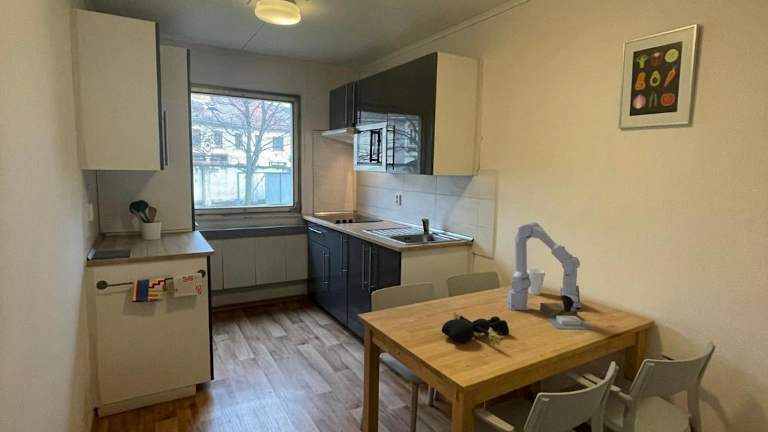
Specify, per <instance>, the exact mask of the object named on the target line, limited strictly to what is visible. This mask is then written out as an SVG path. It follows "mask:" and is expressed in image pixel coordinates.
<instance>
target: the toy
mask: <svg viewBox="0 0 768 432" xmlns="http://www.w3.org/2000/svg"><path fill="white" fill-rule="evenodd" d="M452 316H453V317H452V318H453V319H449V320H447V321H446V322H445V323H444V324H443V325H442V327H441V333H443V334H444V335H446V336H447V337H448V338H450V339H451V340H452V341H454V342H457V343H460V344H463V343H468V342H470V341H472V340H473V338H474V335H477V336H478V337H483V334H484V335H485V336H486V337H488V339H489V340H490V343H491V345H492V347H495V346H500V345H501V344H500V343H502V342H501V336H500V335H498V334H496V333H494V332H489V330H490V329H492V330H493V331H498V333H499V334H501V335H504V336H506V335H509V333H510V329H509V326H508V322H507V321H506V320H505V319H501V318H500V317H499V316H496V315H495V316H492V317H490V318H489V319H486V318H478V319H474V320H473V321H471V320H470V319H467V318H466V317H465V316H463V314H461V313H460V312H458V311H456V310H453V313H452Z"/></svg>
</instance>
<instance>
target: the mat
mask: <svg viewBox="0 0 768 432" xmlns="http://www.w3.org/2000/svg"><path fill="white" fill-rule="evenodd" d="M578 318H579V319H580V320H581V325H561V324H560V323H559V322H558V321H557V320H556V318H547V317H545V319H546V320H547V321H548V322H550V323H551V324H552V325H553V327H555V328H556V329H557V330H593V329H594V328H593V327H591V326H590V325H589V324H588V323H586V322H585V321H584V320H583V319H581V318H580V317H578Z"/></svg>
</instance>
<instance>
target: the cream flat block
mask: <svg viewBox="0 0 768 432" xmlns="http://www.w3.org/2000/svg"><path fill="white" fill-rule="evenodd" d="M579 318H580V317H578V316H577V317H576V316H556V320H557V321H558V322H559V323H560V324H561V325H581V320H582V319H581V318H580V319H581V320H580V319H579Z"/></svg>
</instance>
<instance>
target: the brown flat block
mask: <svg viewBox="0 0 768 432" xmlns="http://www.w3.org/2000/svg"><path fill="white" fill-rule="evenodd" d="M539 305H540V308H539V311H540V312H541V313H542V314H543V315H544V316H545V318H556V316H576V317H577V318H578V310H579V309H575V308H574V307H572V308H571V311H570V312H565V311H564V305H563V302H558V303H557V302H540V304H539Z"/></svg>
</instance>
